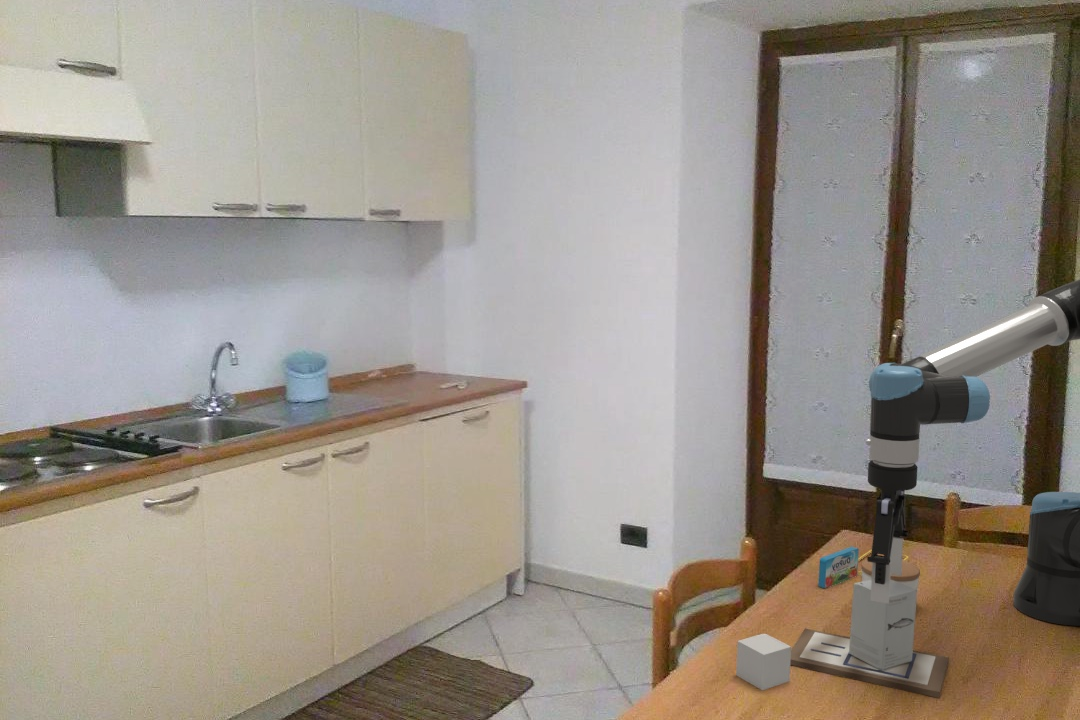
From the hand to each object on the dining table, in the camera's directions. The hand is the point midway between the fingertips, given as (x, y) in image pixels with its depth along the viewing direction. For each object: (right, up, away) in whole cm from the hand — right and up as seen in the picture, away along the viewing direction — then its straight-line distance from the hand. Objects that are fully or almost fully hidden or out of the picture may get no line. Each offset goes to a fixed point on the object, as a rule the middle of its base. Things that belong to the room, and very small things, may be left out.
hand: (886, 587), depth 160 cm
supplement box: (0, -12, +2) cm, 13 cm away
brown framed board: (-2, -13, +3) cm, 14 cm away
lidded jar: (+10, -10, +29) cm, 32 cm away
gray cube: (-21, -14, -3) cm, 26 cm away
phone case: (+16, -8, +50) cm, 53 cm away
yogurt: (+4, -9, +41) cm, 42 cm away
